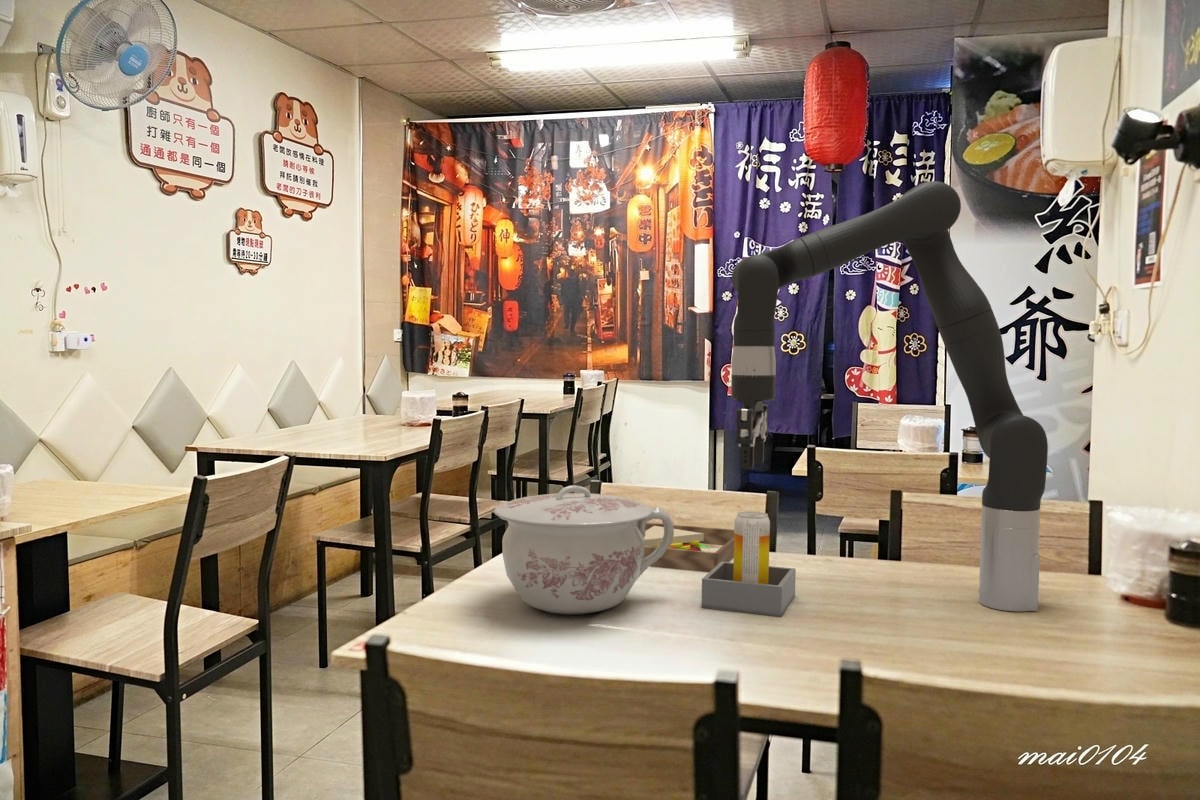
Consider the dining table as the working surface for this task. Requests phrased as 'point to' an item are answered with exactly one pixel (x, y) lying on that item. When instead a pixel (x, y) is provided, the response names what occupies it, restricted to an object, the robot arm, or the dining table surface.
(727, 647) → the dining table surface
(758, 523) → the beer can
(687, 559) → the serving board rim
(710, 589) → the box
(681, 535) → the sandwich
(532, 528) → the chamber pot
